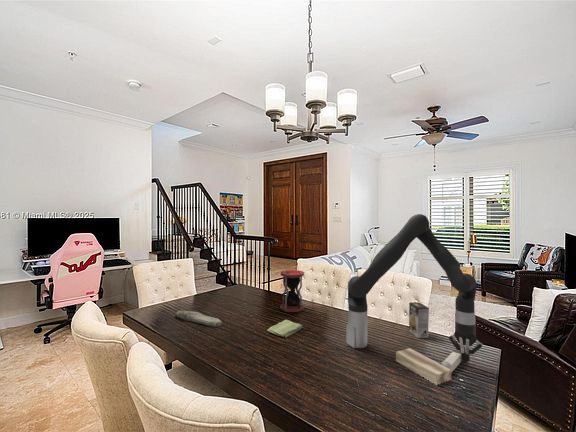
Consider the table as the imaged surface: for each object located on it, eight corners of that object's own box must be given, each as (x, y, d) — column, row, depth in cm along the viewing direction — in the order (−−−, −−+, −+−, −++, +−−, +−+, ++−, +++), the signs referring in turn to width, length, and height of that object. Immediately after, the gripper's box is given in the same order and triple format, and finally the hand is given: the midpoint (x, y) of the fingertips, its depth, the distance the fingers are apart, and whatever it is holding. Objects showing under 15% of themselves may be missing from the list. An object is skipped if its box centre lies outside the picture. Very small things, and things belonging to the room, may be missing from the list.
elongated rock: (213, 332, 159) (225, 326, 168) (214, 322, 159) (226, 317, 168) (170, 317, 175) (183, 313, 184) (171, 308, 175) (184, 305, 184)
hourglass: (289, 303, 207) (289, 268, 206) (308, 307, 197) (308, 271, 197) (275, 309, 193) (275, 272, 193) (295, 314, 184) (295, 275, 184)
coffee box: (408, 331, 159) (408, 302, 159) (419, 330, 159) (419, 302, 159) (417, 338, 149) (417, 307, 149) (428, 337, 150) (429, 307, 150)
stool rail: (436, 385, 108) (436, 374, 108) (395, 360, 126) (395, 351, 126) (451, 380, 111) (451, 369, 111) (409, 356, 129) (409, 348, 129)
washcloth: (265, 333, 155) (265, 327, 155) (286, 323, 169) (286, 318, 169) (284, 339, 147) (284, 333, 147) (304, 329, 161) (304, 323, 161)
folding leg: (449, 376, 114) (449, 366, 114) (439, 372, 116) (440, 363, 116) (463, 360, 126) (463, 351, 126) (454, 357, 129) (454, 348, 129)
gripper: (445, 319, 125) (446, 359, 124) (481, 327, 115) (482, 370, 115) (450, 315, 130) (450, 353, 130) (485, 322, 121) (485, 363, 121)
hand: (465, 361), depth 122 cm, fingers closed
